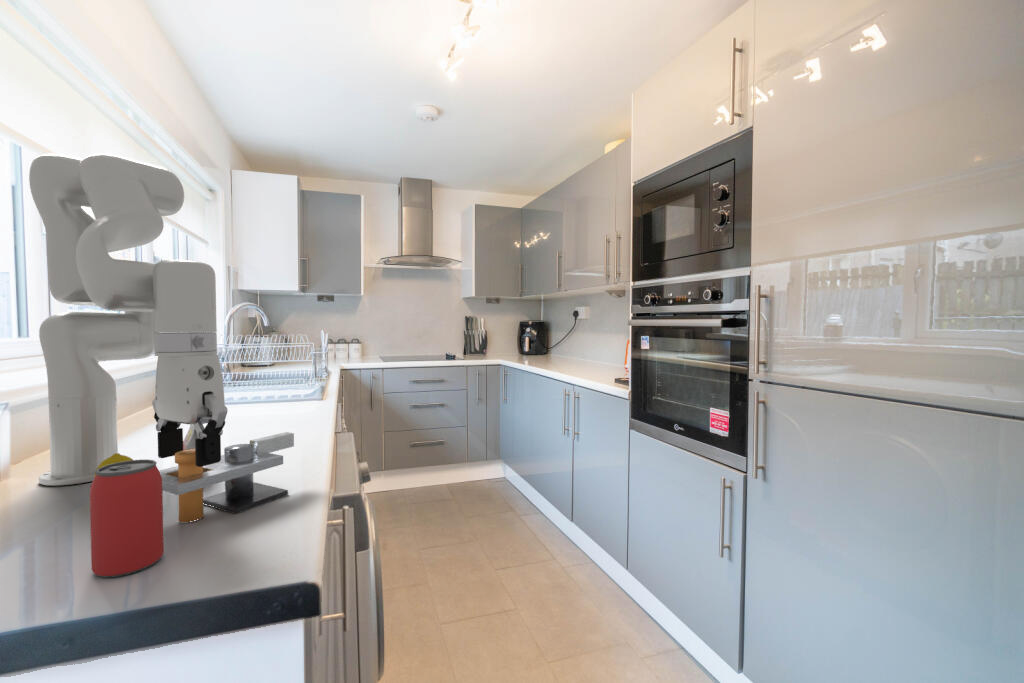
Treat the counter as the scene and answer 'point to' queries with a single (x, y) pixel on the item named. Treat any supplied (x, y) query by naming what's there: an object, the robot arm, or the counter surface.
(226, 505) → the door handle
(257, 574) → the counter surface
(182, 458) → the orange flanged peg
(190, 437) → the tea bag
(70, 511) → the counter surface
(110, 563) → the beer can
